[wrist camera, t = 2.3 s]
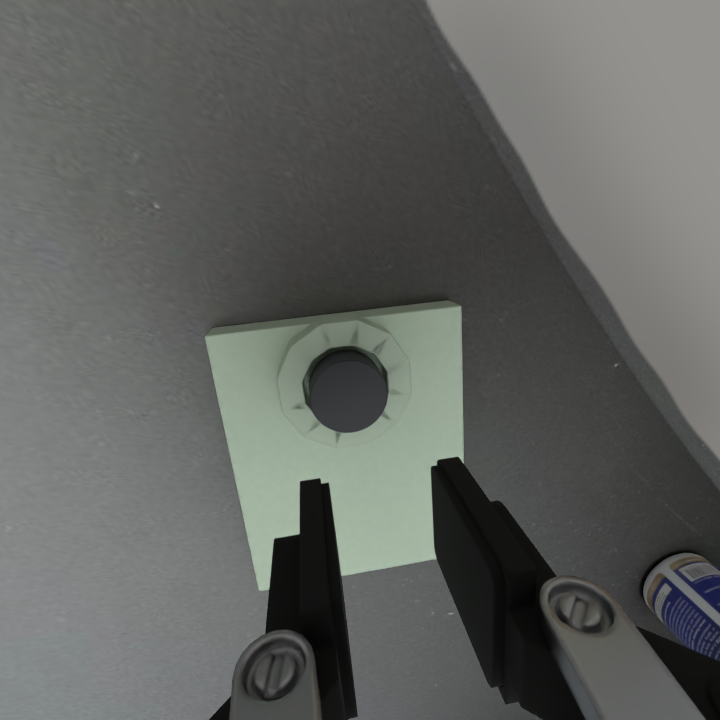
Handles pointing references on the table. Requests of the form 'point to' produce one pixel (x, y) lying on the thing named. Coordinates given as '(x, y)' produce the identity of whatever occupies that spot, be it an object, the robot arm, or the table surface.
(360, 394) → the button
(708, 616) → the pill bottle
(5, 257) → the table surface
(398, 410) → the scale
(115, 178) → the table surface
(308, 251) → the table surface
